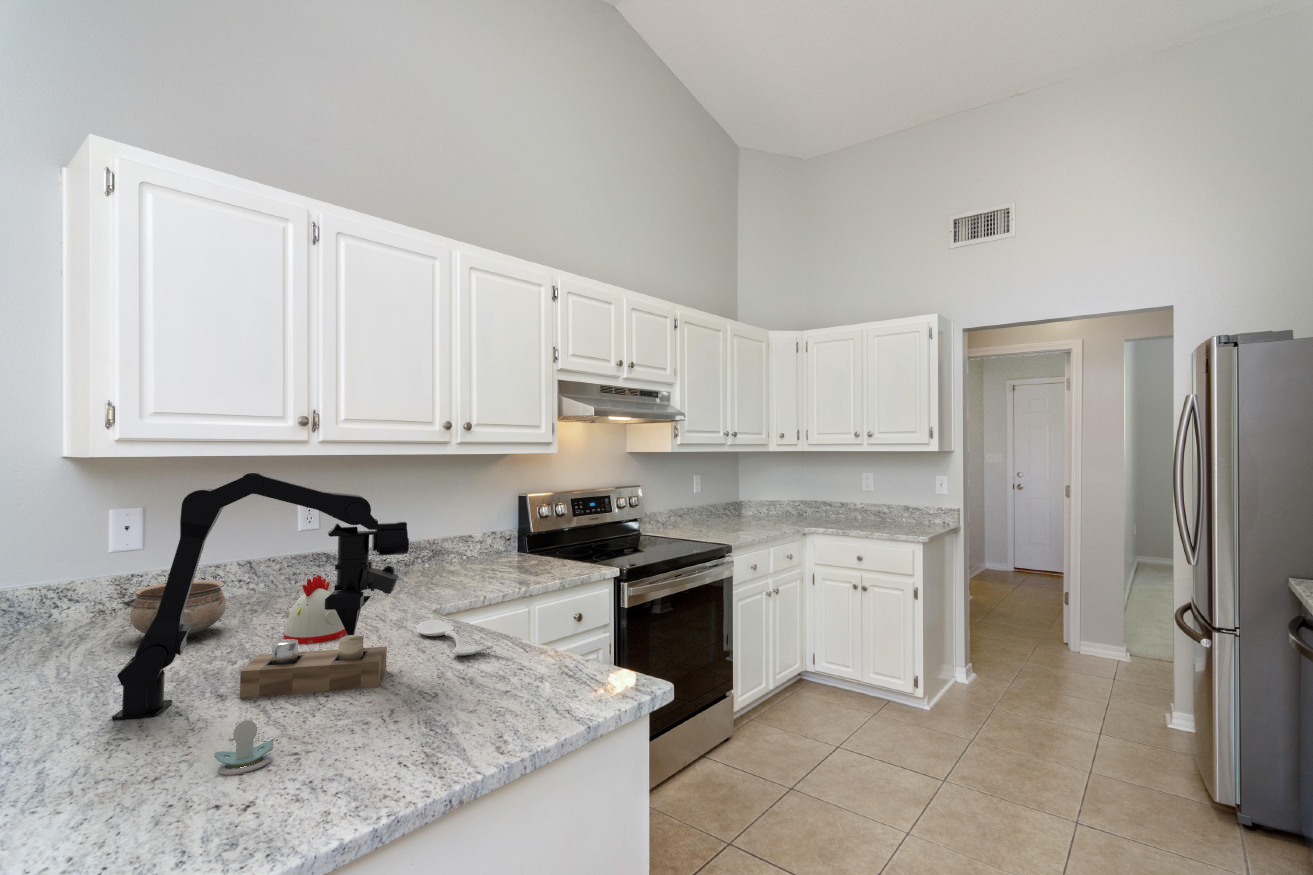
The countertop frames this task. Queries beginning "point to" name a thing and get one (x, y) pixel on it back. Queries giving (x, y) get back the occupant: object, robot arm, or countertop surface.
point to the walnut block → (313, 673)
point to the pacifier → (244, 751)
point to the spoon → (447, 629)
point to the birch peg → (351, 647)
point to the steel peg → (285, 652)
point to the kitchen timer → (313, 616)
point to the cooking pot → (199, 610)
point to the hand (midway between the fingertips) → (351, 634)
